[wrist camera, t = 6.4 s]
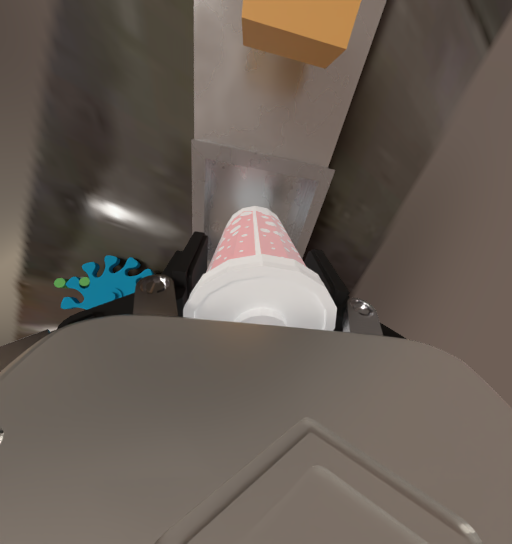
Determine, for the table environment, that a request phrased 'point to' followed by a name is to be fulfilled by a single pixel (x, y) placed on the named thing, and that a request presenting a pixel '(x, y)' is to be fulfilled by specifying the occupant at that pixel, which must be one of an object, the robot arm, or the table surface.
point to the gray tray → (266, 122)
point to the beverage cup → (260, 278)
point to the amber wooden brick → (300, 28)
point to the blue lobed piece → (102, 283)
